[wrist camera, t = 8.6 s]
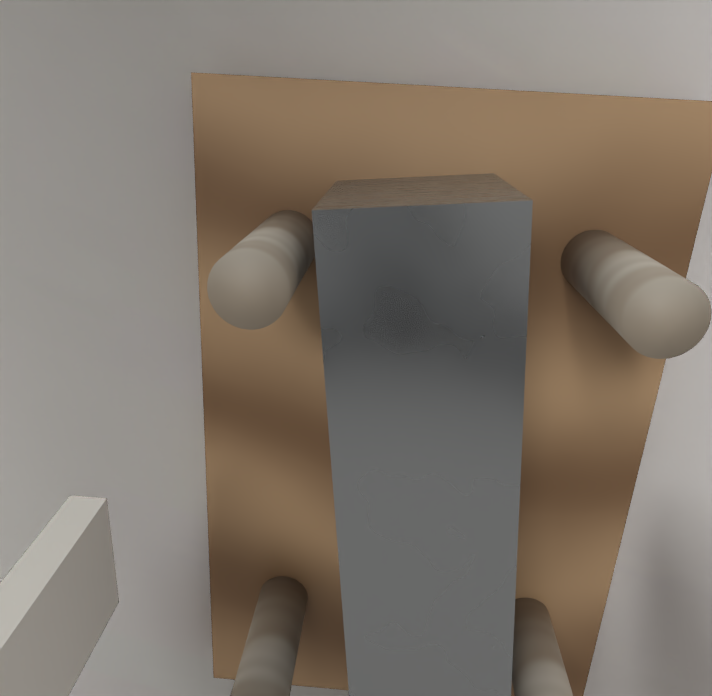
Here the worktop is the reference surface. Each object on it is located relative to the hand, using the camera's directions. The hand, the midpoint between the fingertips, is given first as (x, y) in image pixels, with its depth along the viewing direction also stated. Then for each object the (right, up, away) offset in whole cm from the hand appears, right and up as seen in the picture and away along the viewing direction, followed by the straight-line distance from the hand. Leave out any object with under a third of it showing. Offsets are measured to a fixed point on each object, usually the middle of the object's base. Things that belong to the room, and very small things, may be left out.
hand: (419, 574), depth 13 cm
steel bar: (+1, +2, +6) cm, 6 cm away
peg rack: (+1, +2, +7) cm, 7 cm away
